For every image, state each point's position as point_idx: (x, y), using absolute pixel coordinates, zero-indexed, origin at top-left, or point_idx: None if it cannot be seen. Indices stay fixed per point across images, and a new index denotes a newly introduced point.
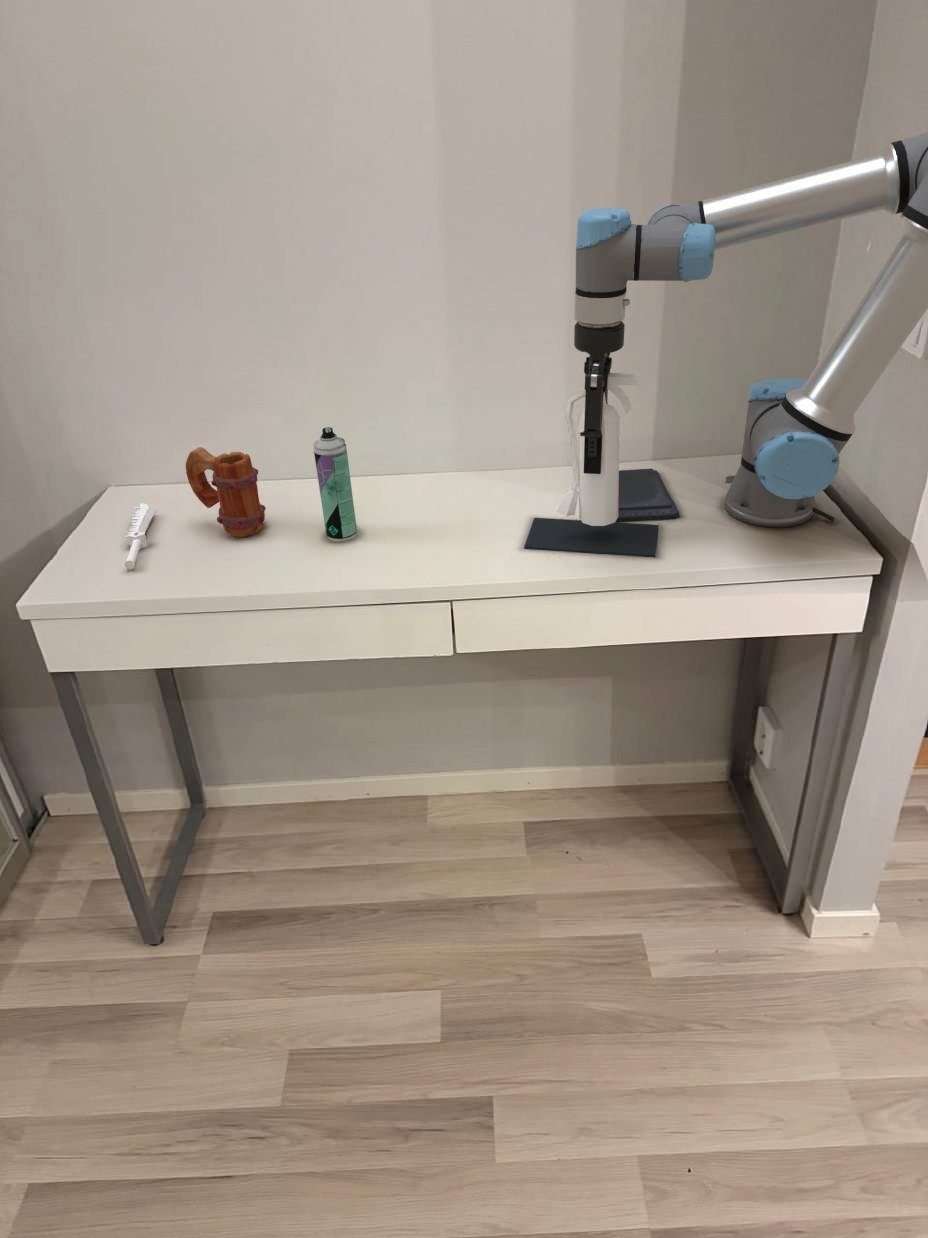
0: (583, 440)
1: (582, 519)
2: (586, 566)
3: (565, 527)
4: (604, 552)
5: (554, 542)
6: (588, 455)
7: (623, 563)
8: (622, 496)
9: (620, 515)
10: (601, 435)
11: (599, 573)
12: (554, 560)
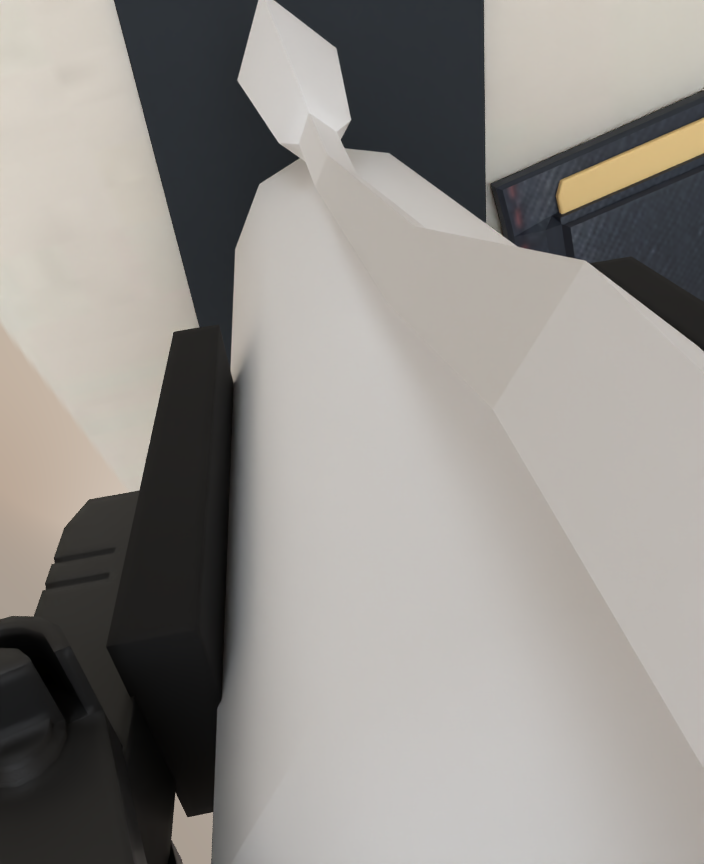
0: (277, 473)
1: (261, 186)
2: (42, 241)
3: (385, 20)
4: (191, 292)
5: (191, 1)
6: (80, 517)
7: (144, 381)
8: (694, 266)
9: None
10: (199, 808)
11: (11, 313)
12: (18, 56)
